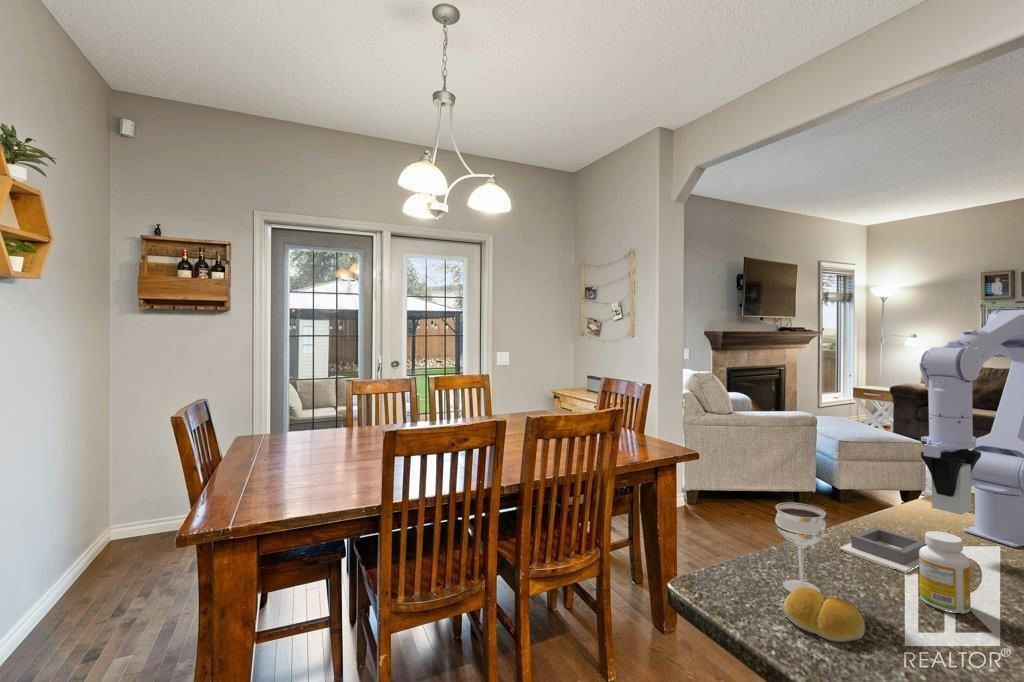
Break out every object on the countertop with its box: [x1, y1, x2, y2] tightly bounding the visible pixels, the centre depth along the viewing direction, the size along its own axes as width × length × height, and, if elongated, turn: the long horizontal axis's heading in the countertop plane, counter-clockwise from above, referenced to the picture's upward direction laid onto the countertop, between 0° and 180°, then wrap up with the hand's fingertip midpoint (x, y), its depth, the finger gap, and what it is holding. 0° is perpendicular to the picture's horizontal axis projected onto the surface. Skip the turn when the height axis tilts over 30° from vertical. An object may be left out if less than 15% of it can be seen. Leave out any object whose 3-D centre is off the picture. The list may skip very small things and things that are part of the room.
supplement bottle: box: [919, 530, 972, 615], centre depth 69 cm, size 5×5×10 cm
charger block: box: [931, 463, 972, 516], centre depth 85 cm, size 4×4×8 cm
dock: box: [838, 526, 927, 574], centre depth 85 cm, size 12×10×2 cm
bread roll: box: [782, 587, 866, 643], centre depth 65 cm, size 8×9×4 cm
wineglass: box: [774, 502, 827, 594], centre depth 74 cm, size 7×7×12 cm
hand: (951, 492), depth 85 cm, fingers closed on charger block, 4 cm apart
